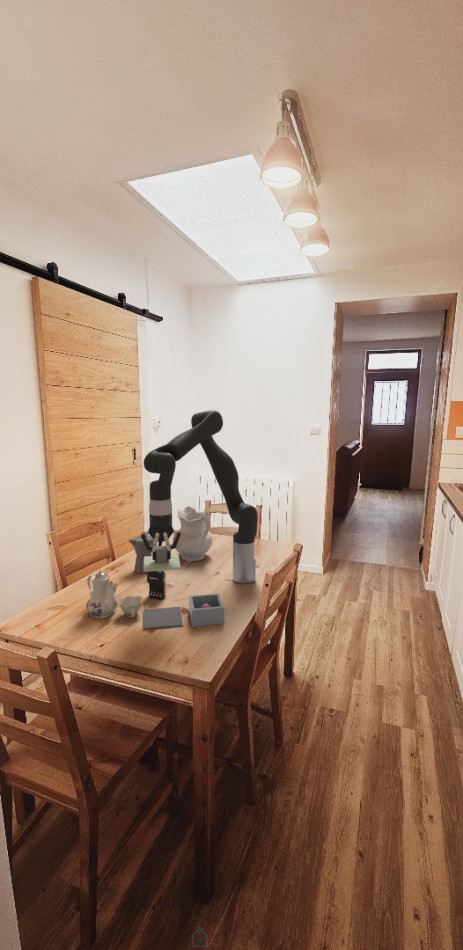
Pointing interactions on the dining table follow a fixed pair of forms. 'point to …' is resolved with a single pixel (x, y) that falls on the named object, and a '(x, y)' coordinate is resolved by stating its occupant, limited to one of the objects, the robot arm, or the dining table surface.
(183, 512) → the ceramic pitcher
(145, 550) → the coffeepot
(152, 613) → the mat
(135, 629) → the dining table surface
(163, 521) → the robot arm
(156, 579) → the black battery charger
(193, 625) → the square storage bin
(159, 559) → the cover
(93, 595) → the chinaware
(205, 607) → the plum
